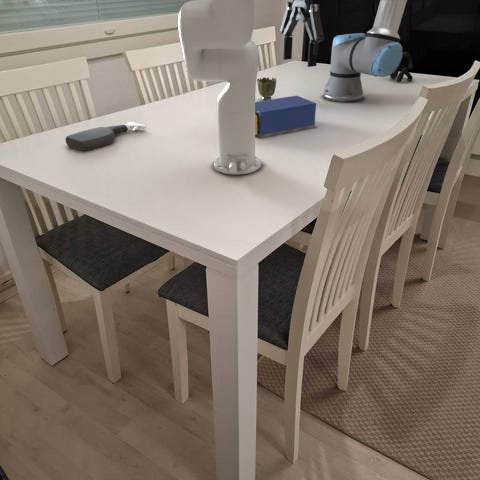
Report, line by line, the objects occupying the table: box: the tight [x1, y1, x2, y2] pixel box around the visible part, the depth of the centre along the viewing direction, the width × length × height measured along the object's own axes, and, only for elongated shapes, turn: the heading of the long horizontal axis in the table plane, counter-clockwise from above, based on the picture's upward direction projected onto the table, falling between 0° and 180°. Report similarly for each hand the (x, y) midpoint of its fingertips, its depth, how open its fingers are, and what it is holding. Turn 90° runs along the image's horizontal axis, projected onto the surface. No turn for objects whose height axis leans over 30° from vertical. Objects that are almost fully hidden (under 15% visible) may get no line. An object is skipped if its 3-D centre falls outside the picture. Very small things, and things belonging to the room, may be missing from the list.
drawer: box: [255, 113, 260, 136], centre depth 142 cm, size 24×10×6 cm, turn 117°
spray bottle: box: [64, 121, 147, 152], centre depth 139 cm, size 3×11×24 cm
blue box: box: [255, 95, 317, 138], centre depth 144 cm, size 20×11×8 cm, turn 117°
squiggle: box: [389, 51, 414, 83], centre depth 198 cm, size 11×10×15 cm
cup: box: [256, 77, 277, 101], centre depth 173 cm, size 8×7×8 cm
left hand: (237, 79), depth 134 cm, fingers open, 9 cm apart
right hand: (299, 62), depth 139 cm, fingers open, 13 cm apart
